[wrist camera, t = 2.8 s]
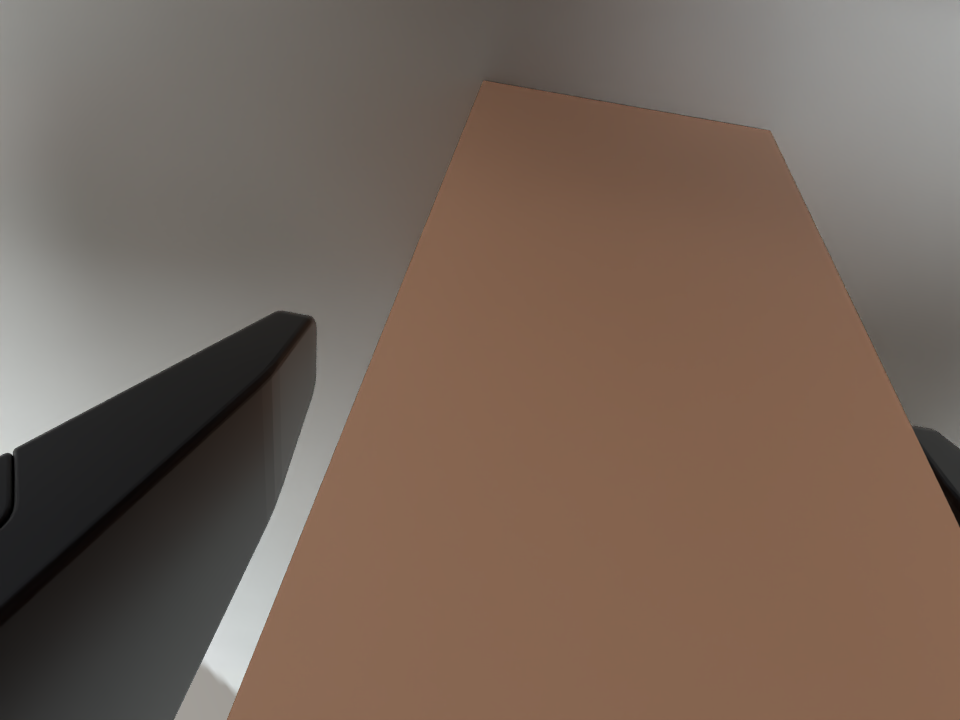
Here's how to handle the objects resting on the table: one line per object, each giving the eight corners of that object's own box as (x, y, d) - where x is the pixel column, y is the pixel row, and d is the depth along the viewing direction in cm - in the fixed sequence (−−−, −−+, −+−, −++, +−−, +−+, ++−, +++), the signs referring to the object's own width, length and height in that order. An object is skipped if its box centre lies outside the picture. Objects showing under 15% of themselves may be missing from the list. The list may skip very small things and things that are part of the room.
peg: (686, 361, 13) (813, 1242, 5) (451, 319, 13) (224, 1122, 5) (769, 130, 11) (1232, 1092, 3) (483, 80, 11) (164, 877, 3)
